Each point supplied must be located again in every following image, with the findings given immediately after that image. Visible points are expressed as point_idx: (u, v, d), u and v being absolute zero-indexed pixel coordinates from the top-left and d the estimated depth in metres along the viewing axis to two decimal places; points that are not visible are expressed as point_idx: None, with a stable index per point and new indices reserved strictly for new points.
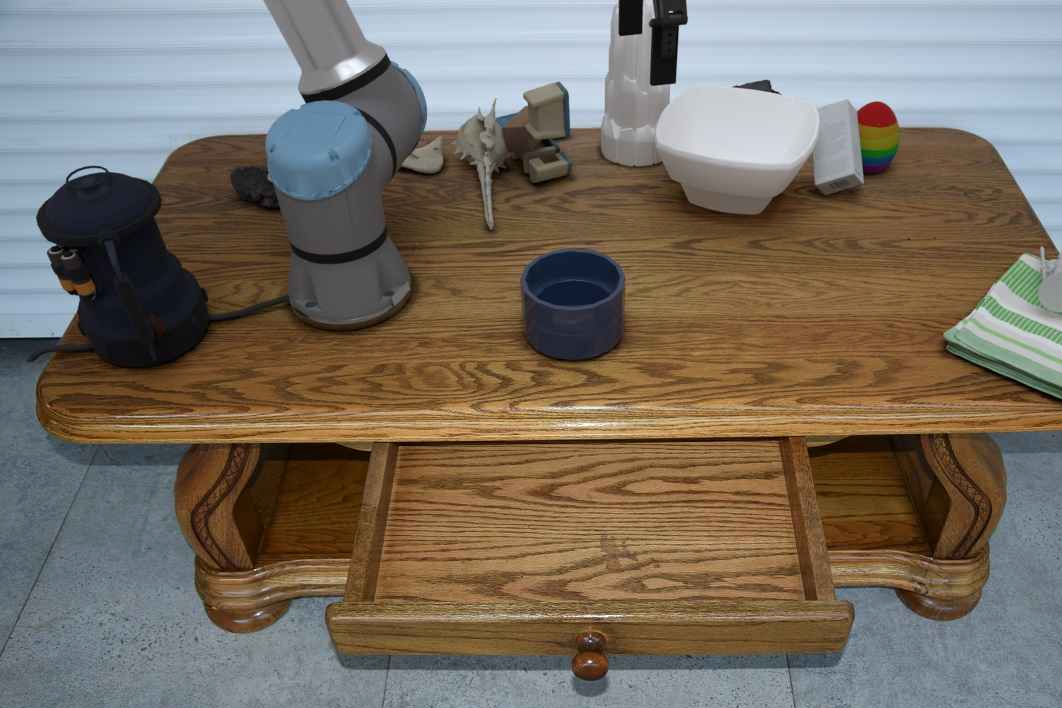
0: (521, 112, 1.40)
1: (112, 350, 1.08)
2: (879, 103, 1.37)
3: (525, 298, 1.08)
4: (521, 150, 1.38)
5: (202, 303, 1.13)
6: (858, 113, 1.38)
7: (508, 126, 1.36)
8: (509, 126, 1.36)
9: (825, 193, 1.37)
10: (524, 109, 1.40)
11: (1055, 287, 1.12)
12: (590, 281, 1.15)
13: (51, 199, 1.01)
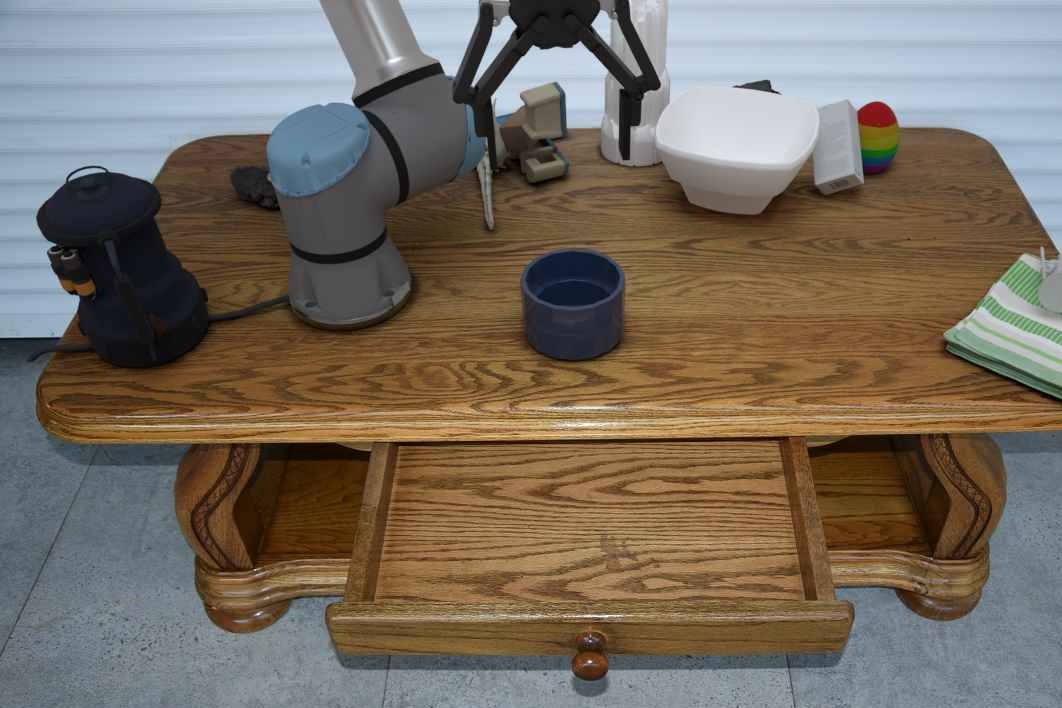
0: (518, 112, 1.40)
1: (112, 350, 1.08)
2: (879, 103, 1.37)
3: (525, 298, 1.08)
4: (519, 149, 1.38)
5: (202, 303, 1.13)
6: (858, 113, 1.38)
7: (506, 126, 1.36)
8: (506, 126, 1.36)
9: (825, 193, 1.37)
10: (521, 108, 1.41)
11: (1055, 287, 1.12)
12: (590, 281, 1.15)
13: (51, 199, 1.01)
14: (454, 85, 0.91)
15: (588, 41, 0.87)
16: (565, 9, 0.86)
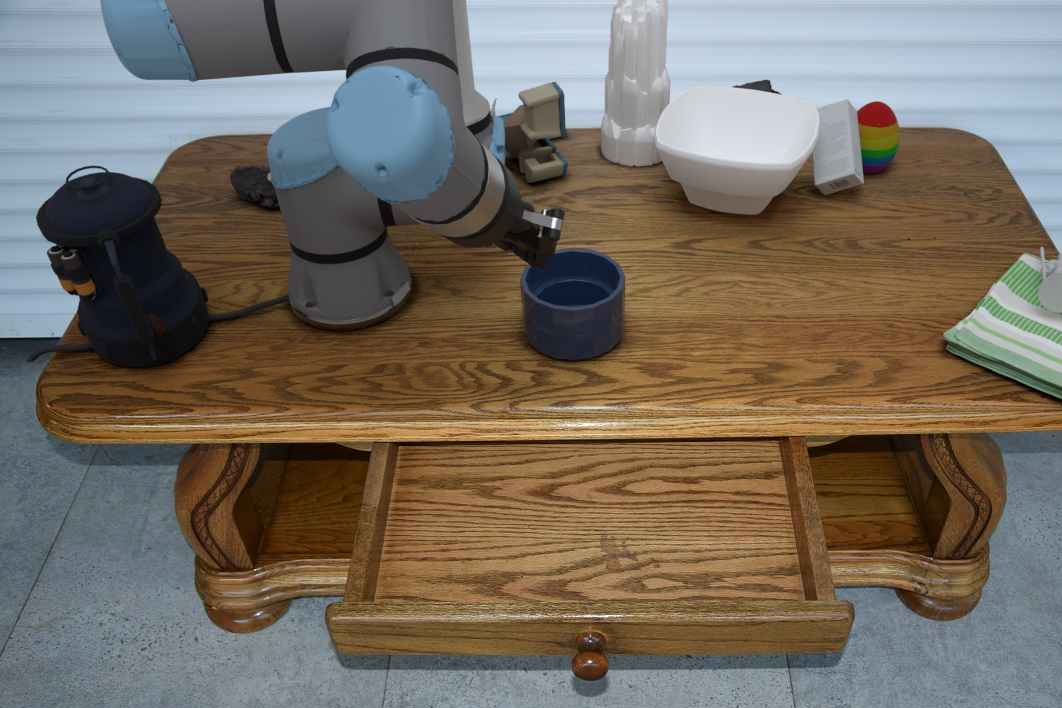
0: (516, 111, 1.40)
1: (112, 350, 1.08)
2: (879, 103, 1.37)
3: (525, 298, 1.08)
4: (519, 149, 1.38)
5: (202, 303, 1.13)
6: (858, 113, 1.38)
7: (505, 125, 1.36)
8: (506, 125, 1.36)
9: (825, 193, 1.37)
10: (519, 108, 1.41)
11: (1055, 287, 1.11)
12: (590, 281, 1.15)
13: (51, 199, 1.01)
14: None
15: (506, 240, 0.81)
16: None
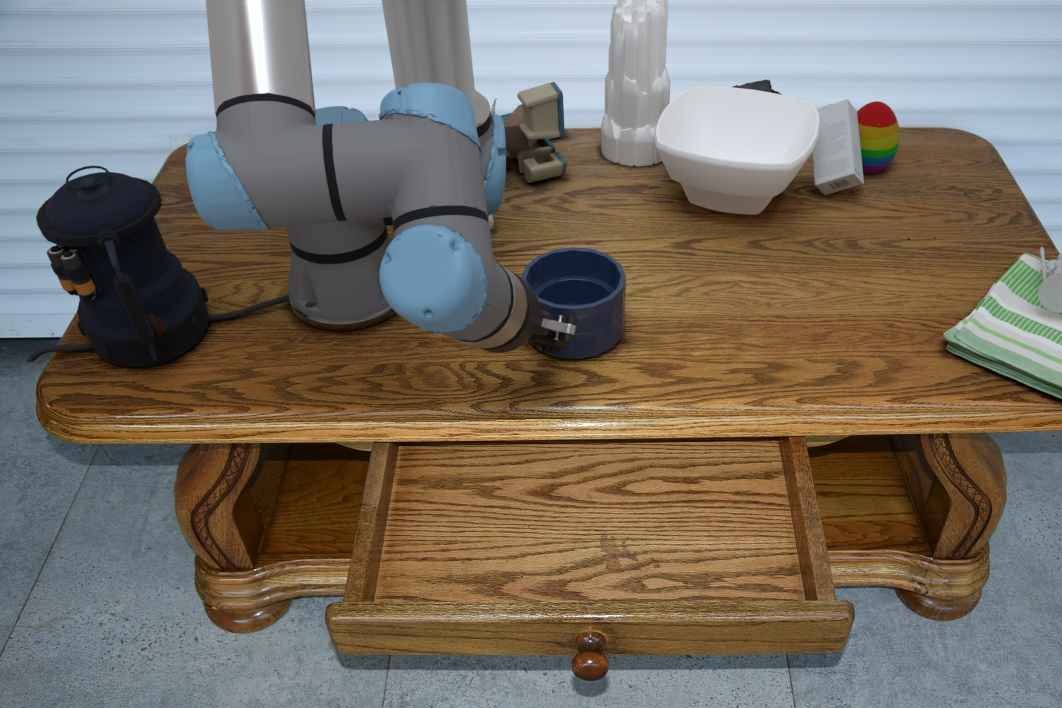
0: (517, 111, 1.40)
1: (112, 350, 1.08)
2: (879, 103, 1.37)
3: None
4: (520, 148, 1.38)
5: (202, 303, 1.13)
6: (858, 113, 1.38)
7: (506, 125, 1.36)
8: (507, 125, 1.36)
9: (825, 193, 1.37)
10: (519, 108, 1.41)
11: (1055, 287, 1.11)
12: (591, 280, 1.15)
13: (51, 199, 1.01)
14: None
15: None
16: None
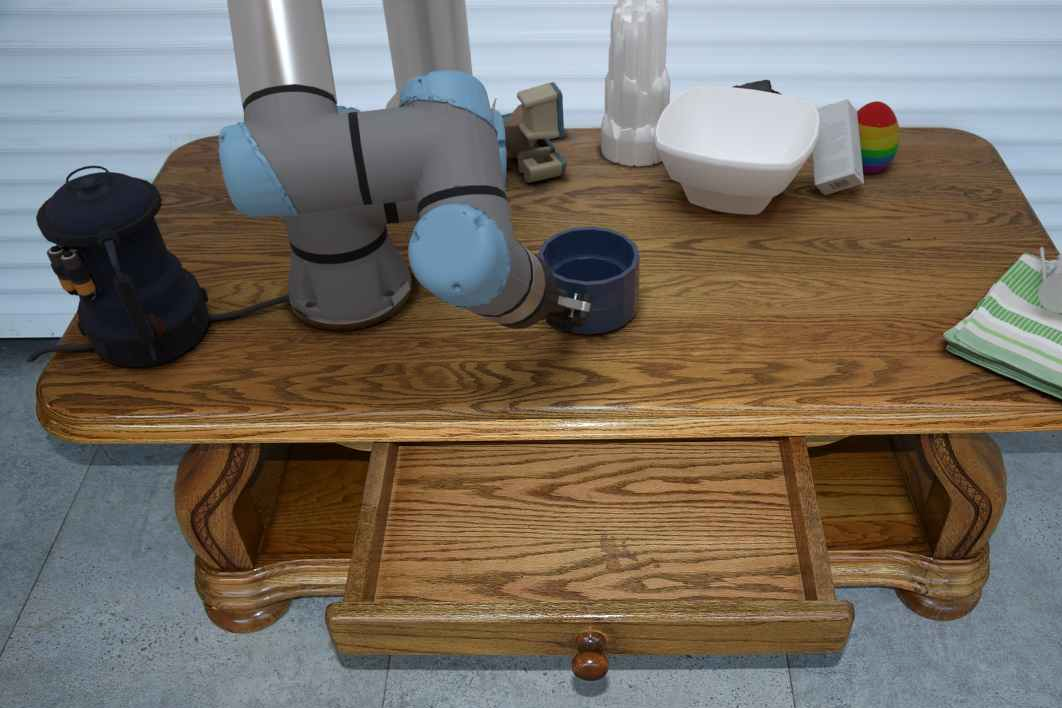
0: (517, 111, 1.40)
1: (112, 350, 1.08)
2: (879, 103, 1.37)
3: None
4: (520, 148, 1.38)
5: (202, 303, 1.13)
6: (858, 113, 1.38)
7: (507, 125, 1.37)
8: (508, 125, 1.36)
9: (825, 193, 1.37)
10: (519, 107, 1.41)
11: (1055, 288, 1.11)
12: (608, 259, 1.18)
13: (51, 199, 1.01)
14: None
15: None
16: None
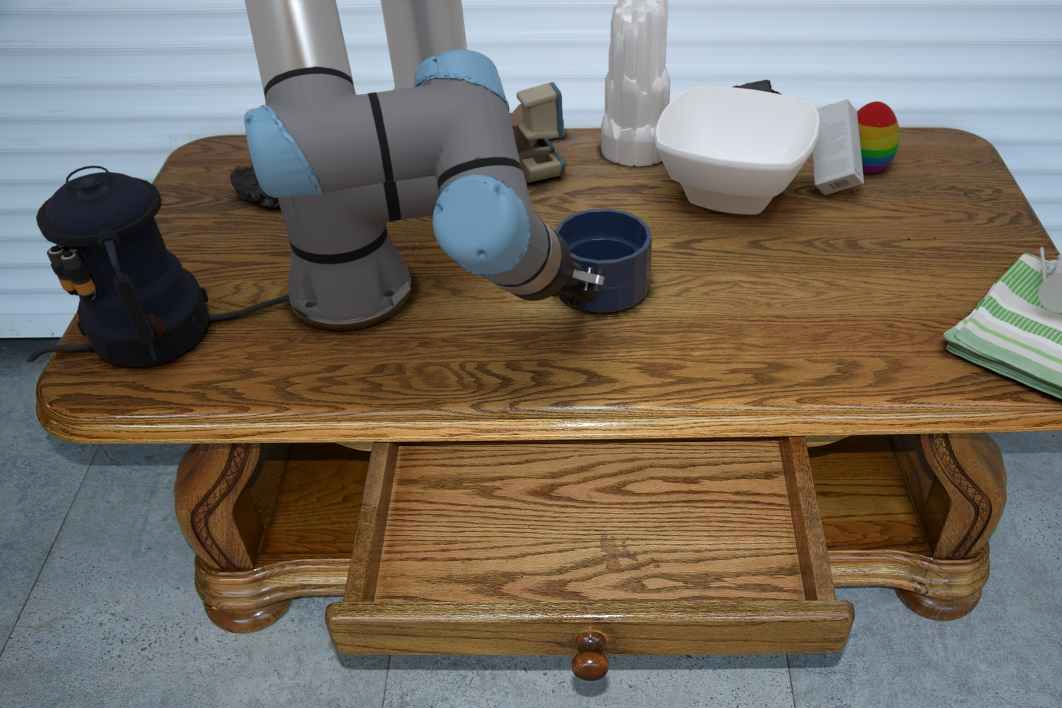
0: (517, 110, 1.40)
1: (112, 350, 1.08)
2: (879, 103, 1.37)
3: None
4: (521, 148, 1.38)
5: (202, 303, 1.13)
6: (858, 113, 1.38)
7: None
8: None
9: (825, 193, 1.37)
10: (520, 107, 1.41)
11: (1055, 288, 1.11)
12: (622, 241, 1.21)
13: (51, 199, 1.01)
14: None
15: (557, 291, 0.99)
16: None
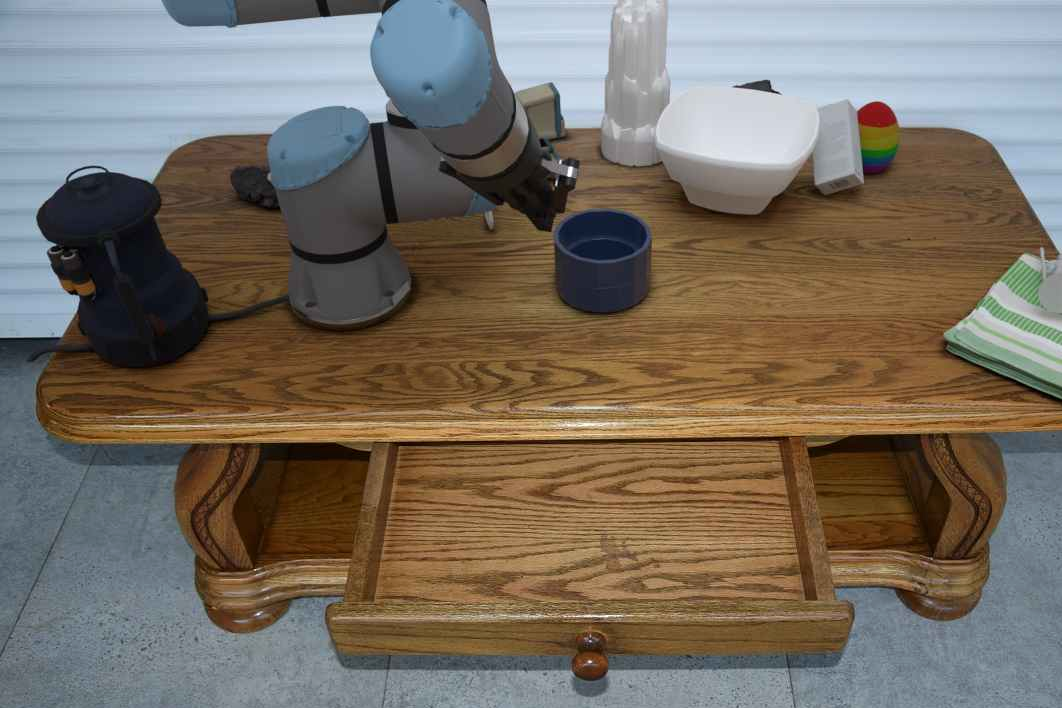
0: None
1: (112, 350, 1.08)
2: (879, 103, 1.37)
3: (555, 249, 1.15)
4: None
5: (202, 303, 1.13)
6: (858, 113, 1.38)
7: None
8: None
9: (825, 193, 1.37)
10: None
11: (1055, 288, 1.11)
12: (622, 241, 1.21)
13: (51, 199, 1.01)
14: None
15: (522, 191, 0.84)
16: None
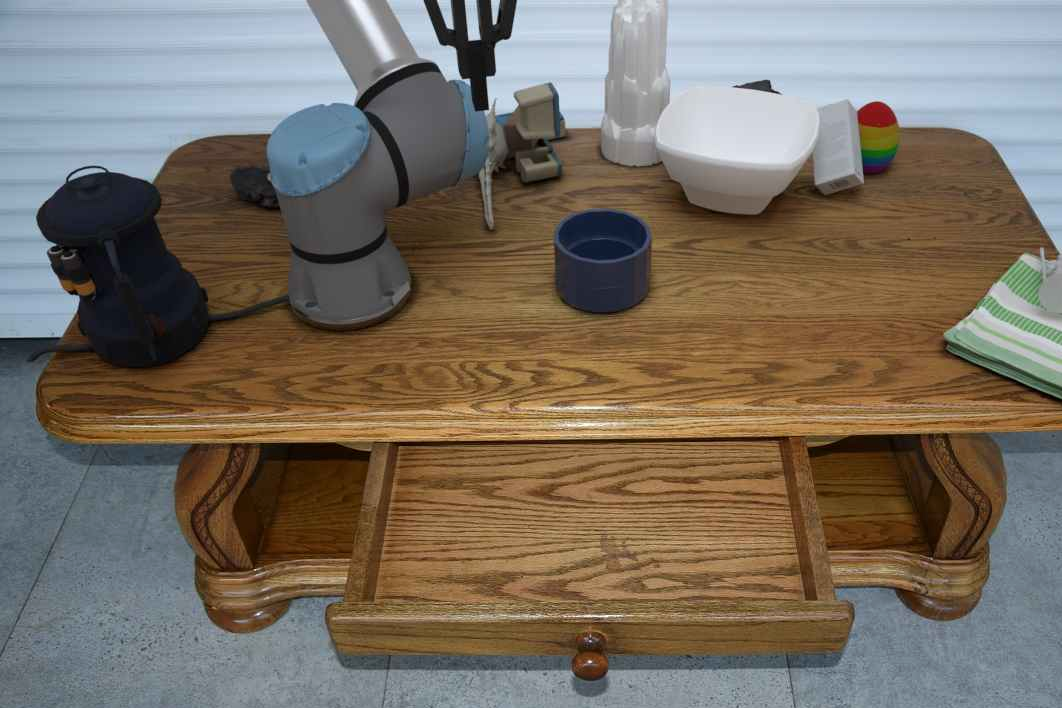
0: None
1: (112, 350, 1.08)
2: (879, 103, 1.37)
3: (555, 249, 1.15)
4: (522, 148, 1.39)
5: (202, 303, 1.13)
6: (858, 113, 1.38)
7: (511, 124, 1.37)
8: (512, 124, 1.37)
9: (825, 193, 1.37)
10: None
11: (1055, 288, 1.11)
12: (622, 241, 1.21)
13: (51, 199, 1.01)
14: None
15: None
16: None
